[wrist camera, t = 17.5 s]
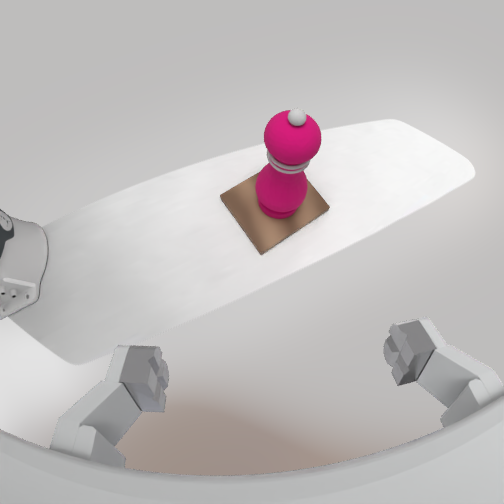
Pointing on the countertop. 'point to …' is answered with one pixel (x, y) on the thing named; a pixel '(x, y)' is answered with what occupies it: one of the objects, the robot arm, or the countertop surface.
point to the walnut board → (261, 225)
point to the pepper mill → (286, 162)
